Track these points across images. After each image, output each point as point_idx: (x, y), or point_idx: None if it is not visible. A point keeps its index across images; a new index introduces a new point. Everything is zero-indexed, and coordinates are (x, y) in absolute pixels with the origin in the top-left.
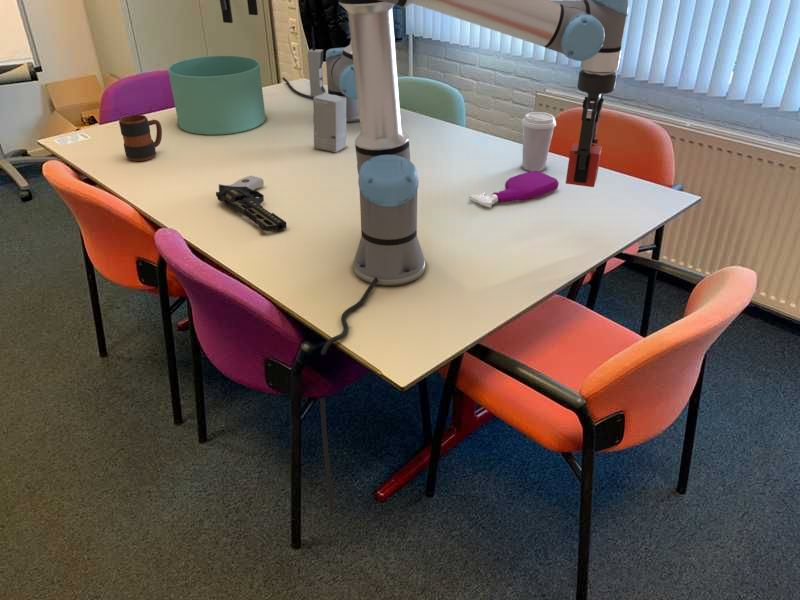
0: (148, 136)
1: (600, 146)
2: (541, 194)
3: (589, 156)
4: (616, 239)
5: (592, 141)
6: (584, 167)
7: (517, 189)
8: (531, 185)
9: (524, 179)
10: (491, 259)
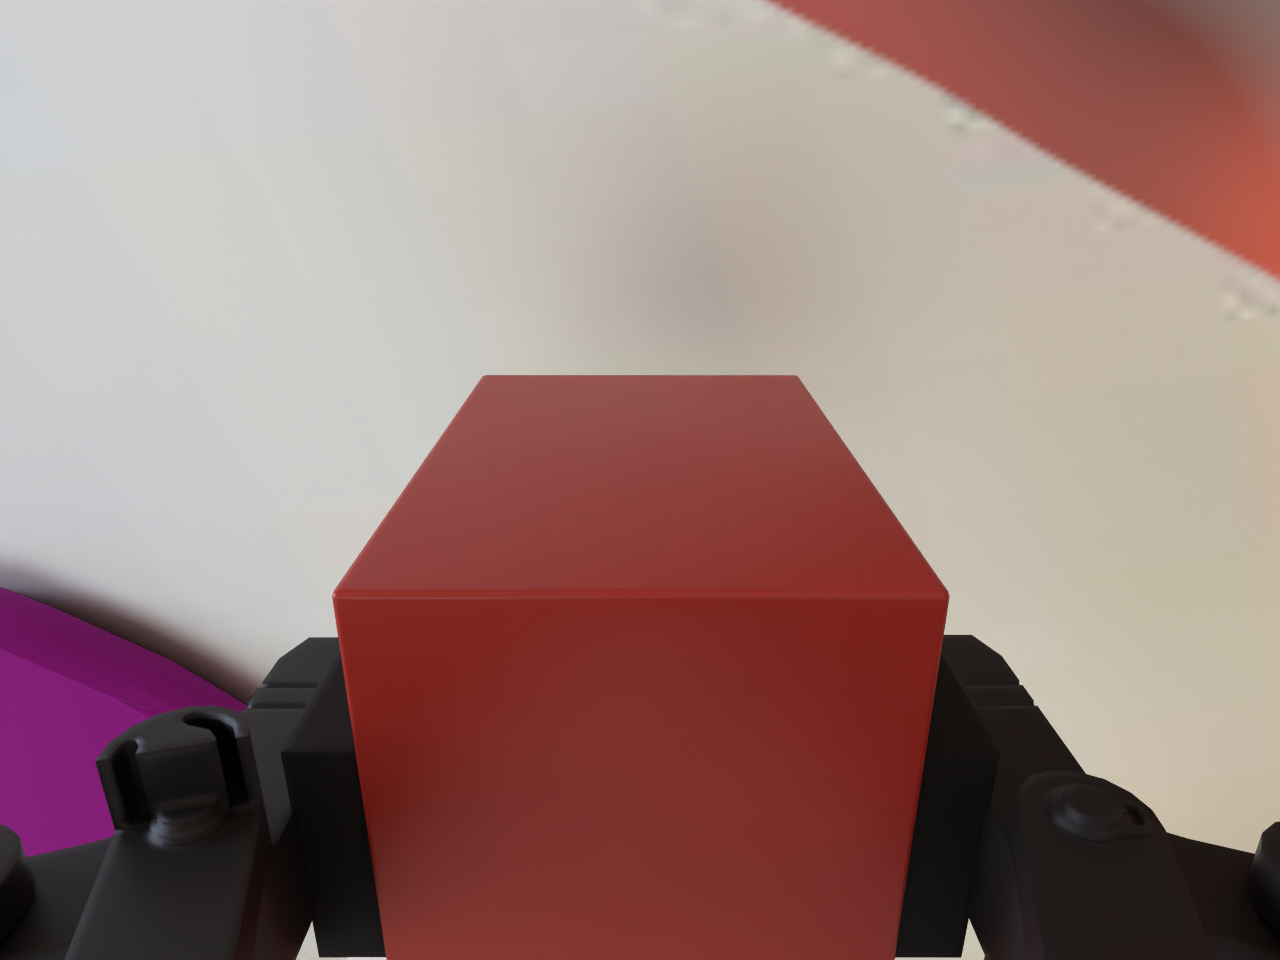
0: None
1: (384, 624)
2: (170, 665)
3: (985, 739)
4: (633, 26)
5: (263, 842)
6: (1000, 667)
7: None
8: None
9: (67, 822)
10: (1132, 744)
